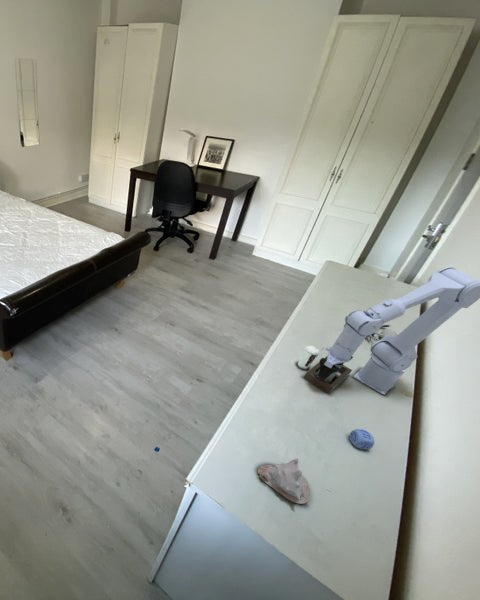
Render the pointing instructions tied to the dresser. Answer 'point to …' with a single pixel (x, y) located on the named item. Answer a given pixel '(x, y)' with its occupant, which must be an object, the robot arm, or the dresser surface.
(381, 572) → the dresser surface
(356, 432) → the decorative dice
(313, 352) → the milkshake
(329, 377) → the grey hollow cylinder
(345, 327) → the robot arm
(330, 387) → the holder
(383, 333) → the clip-on lamp
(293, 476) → the seashell
